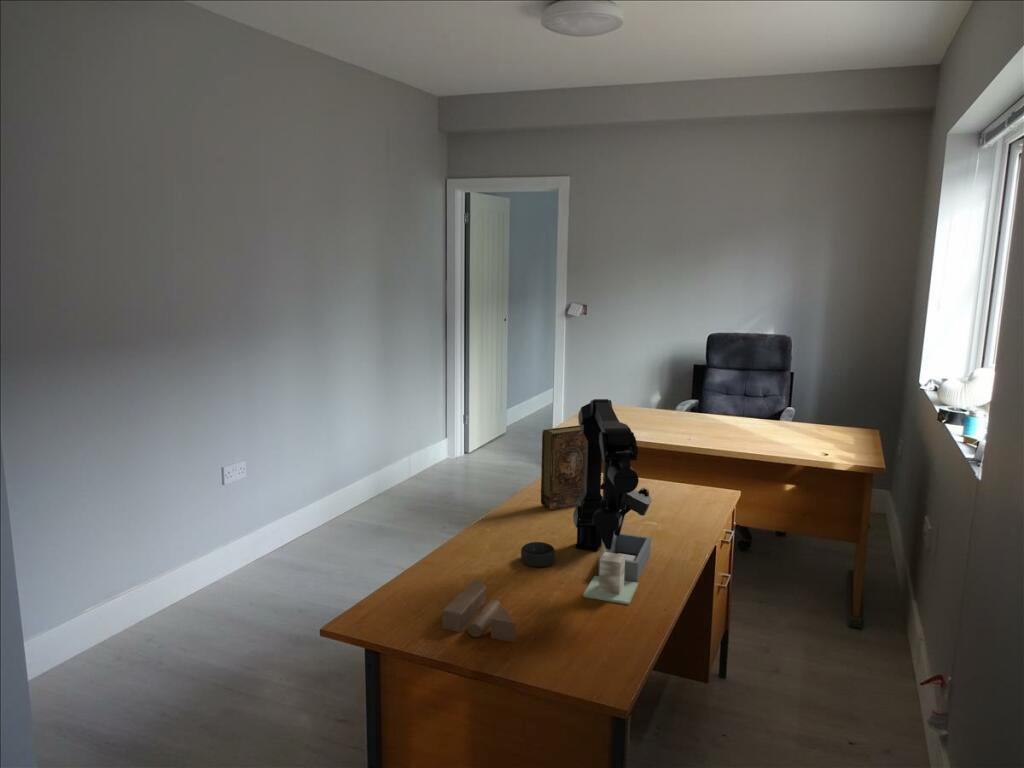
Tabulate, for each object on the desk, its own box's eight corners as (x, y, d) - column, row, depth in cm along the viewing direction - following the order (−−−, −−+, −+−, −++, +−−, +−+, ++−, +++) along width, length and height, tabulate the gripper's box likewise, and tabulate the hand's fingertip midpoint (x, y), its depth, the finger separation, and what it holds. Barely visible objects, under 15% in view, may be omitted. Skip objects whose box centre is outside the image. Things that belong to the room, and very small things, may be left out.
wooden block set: (439, 608, 164) (472, 574, 181) (439, 632, 165) (472, 596, 182) (513, 621, 159) (540, 585, 175) (513, 646, 160) (539, 608, 176)
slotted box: (597, 575, 193) (598, 557, 192) (613, 549, 210) (614, 532, 209) (637, 582, 190) (638, 563, 189) (650, 554, 206) (651, 537, 205)
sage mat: (583, 596, 182) (583, 594, 182) (594, 578, 192) (594, 575, 192) (628, 604, 178) (629, 602, 178) (638, 585, 188) (638, 582, 188)
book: (584, 498, 251) (586, 424, 246) (593, 503, 246) (595, 428, 241) (540, 505, 243) (542, 429, 239) (549, 511, 239) (550, 433, 234)
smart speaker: (514, 561, 201) (514, 547, 201) (536, 552, 208) (536, 538, 207) (539, 572, 195) (539, 557, 195) (561, 561, 202) (561, 547, 201)
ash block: (598, 590, 183) (599, 559, 182) (603, 582, 188) (605, 551, 187) (619, 594, 182) (620, 562, 180) (623, 585, 186) (625, 554, 185)
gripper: (641, 495, 168) (638, 562, 171) (656, 472, 185) (653, 533, 188) (592, 489, 172) (590, 554, 175) (611, 467, 189) (609, 527, 192)
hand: (613, 542), depth 182 cm, fingers open, 9 cm apart
